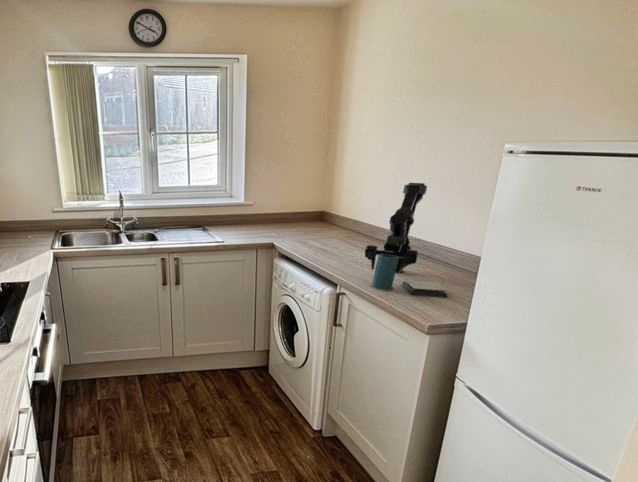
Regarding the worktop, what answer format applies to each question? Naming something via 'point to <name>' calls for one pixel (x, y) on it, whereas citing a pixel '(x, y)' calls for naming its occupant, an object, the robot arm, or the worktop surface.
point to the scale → (423, 291)
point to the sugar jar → (385, 271)
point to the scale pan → (426, 286)
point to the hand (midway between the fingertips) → (384, 271)
